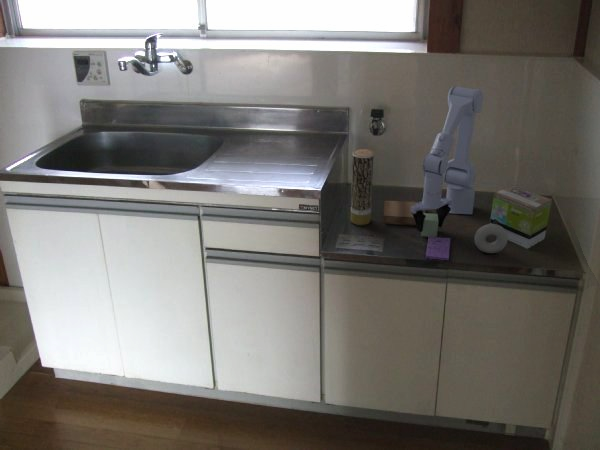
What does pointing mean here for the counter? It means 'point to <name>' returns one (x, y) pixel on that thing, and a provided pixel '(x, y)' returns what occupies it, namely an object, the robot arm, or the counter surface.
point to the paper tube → (361, 186)
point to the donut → (491, 230)
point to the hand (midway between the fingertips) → (429, 228)
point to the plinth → (399, 212)
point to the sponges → (438, 248)
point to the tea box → (521, 215)
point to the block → (430, 225)
